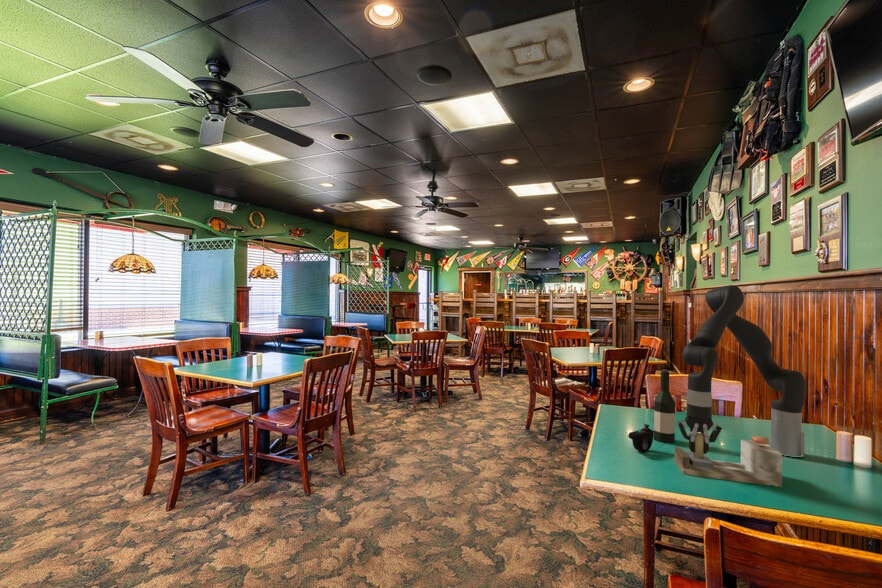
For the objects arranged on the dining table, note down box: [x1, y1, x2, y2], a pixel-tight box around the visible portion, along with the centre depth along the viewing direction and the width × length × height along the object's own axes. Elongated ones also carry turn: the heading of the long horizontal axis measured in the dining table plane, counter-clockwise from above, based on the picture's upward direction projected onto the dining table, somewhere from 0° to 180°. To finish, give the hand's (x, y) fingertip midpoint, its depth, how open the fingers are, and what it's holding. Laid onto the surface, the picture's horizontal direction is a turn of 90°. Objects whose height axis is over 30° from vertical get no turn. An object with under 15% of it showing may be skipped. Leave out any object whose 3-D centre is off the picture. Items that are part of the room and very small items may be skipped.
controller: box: [627, 423, 654, 453], centre depth 157 cm, size 4×12×10 cm, turn 121°
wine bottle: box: [653, 368, 676, 444], centre depth 171 cm, size 8×8×30 cm
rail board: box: [673, 439, 783, 487], centre depth 139 cm, size 28×12×10 cm, turn 73°
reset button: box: [751, 435, 770, 445], centre depth 136 cm, size 4×4×1 cm
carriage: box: [684, 432, 713, 468], centre depth 141 cm, size 6×10×10 cm, turn 163°
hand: (698, 452), depth 141 cm, fingers closed on carriage, 3 cm apart
